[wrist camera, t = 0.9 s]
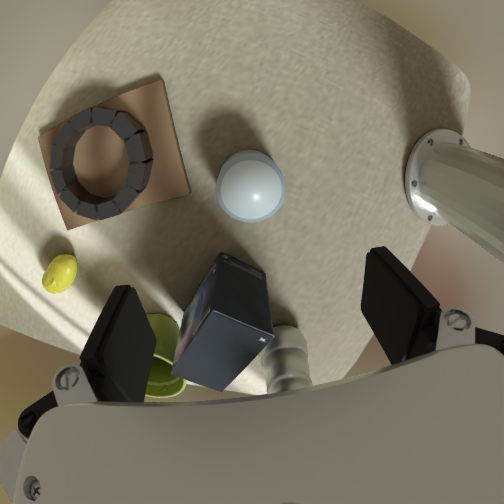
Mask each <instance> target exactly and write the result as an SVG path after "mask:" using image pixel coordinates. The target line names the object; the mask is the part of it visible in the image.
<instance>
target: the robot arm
mask: <svg viewBox="0 0 504 504" xmlns="http://www.w3.org/2000/svg"><path fill="white" fill-rule="evenodd" d="M405 188H406V195H407V198H408V202H409V204H410V206H411V208H412V210H413V211H414V213H415V214H416V215H417V216H418V217H419V218H420V219H421V220H423V221H424V222H426V223H427V224H430V225H433V226H443V225H447V224H450V225H452V226H453V227H455V228H456V229H458V230H459V231H460V232H462V233H463V234H465V235H466V236H467V237H469V238H470V239H471V240H473V241H474V242H475V243H477V244H478V245H479V246H481V247H482V248H483V249H485V250H486V251H487V252H488V253H490V254H491V255H492V256H494V257H495V258H496V259H497V260H498V261H500V262H501V263H502V264H503V265H504V159H503V158H500V157H497V156H494V155H491V154H488V153H485V152H482V151H479V150H475V149H472V148H470V146H469V144H468V143H467V141H466V140H465V139H464V138H463V137H462V136H461V135H460V134H458V133H457V132H455V131H452V130H448V129H435V130H431V131H430V132H428V133H426V134H425V135H423V136H422V137H421V138H420V139H419V140H418V142H417V143H416V145H415V146H414V148H413V150H412V152H411V154H410V156H409V160H408V163H407V167H406V173H405ZM439 306H440V304H439V302H438V301H437V300H436V299H435V298H434V297H433V295H432V294H431V293H430V292H429V291H428V290H427V289H426V288H425V287H424V286H423V285H422V284H421V282H420V281H419V280H418V279H417V278H416V277H415V276H414V275H413V274H412V273H411V272H410V271H409V270H408V269H407V268H406V267H405V266H404V265H403V264H402V263H401V262H400V261H399V260H398V259H397V258H396V257H395V256H394V255H393V254H392V253H391V252H390V251H389V250H388V249H387V248H386V247H385V246H382V247H376V248H372V249H371V250H370V252H368V253H367V255H366V265H365V275H364V284H363V292H362V300H361V311H362V313H363V315H364V317H365V319H366V320H367V322H368V324H369V325H370V327H371V329H372V330H373V332H374V334H375V336H376V337H377V339H378V341H379V343H380V344H381V346H382V348H383V350H384V351H385V353H386V355H387V357H388V359H389V361H390V363H391V364H392V365H391V366H387V367H384V368H381V369H378V370H374V371H371V372H368V373H364V374H360V375H357V376H353V377H349V378H345V379H341V380H337V381H333V382H329V383H324V384H320V385H315V386H310V387H305V388H300V389H295V390H289V391H283V392H277V393H271V394H264V395H257V396H250V397H241V398H233V399H221V400H209V401H193V402H144V398H145V393H146V388H147V383H148V379H149V374H150V369H151V365H152V360H153V356H154V352H155V348H156V336H155V334H154V332H153V329H152V327H151V325H150V323H149V321H148V318H147V316H146V314H145V312H144V309H143V307H142V304H141V302H140V300H139V297H138V295H137V292H136V290H135V289H134V288H131V286H130V285H120V286H116V287H115V288H114V289H113V291H112V293H111V295H110V297H109V299H108V301H107V302H106V304H105V306H104V308H103V310H102V312H101V314H100V316H99V318H98V320H97V322H96V324H95V326H94V328H93V330H92V332H91V334H90V336H89V338H88V340H87V343H86V345H85V347H84V349H83V351H82V353H81V356H80V359H81V363H80V365H78V364H74V363H72V364H67V365H65V366H63V367H62V368H60V369H59V370H58V371H57V372H56V374H55V375H54V377H53V381H52V387H53V391H52V392H50V393H49V394H47V395H46V396H44V397H43V398H41V399H40V400H38V401H37V402H35V403H34V404H32V405H31V406H29V407H28V408H26V409H25V410H24V411H23V412H22V413H21V415H20V417H19V420H18V428H19V430H17V429H14V430H13V431H12V433H11V434H10V435H9V436H8V437H7V438H6V440H5V441H4V442H3V443H2V444H1V445H0V483H1V485H2V486H3V488H4V490H5V491H6V493H7V494H8V496H9V498H10V499H11V501H12V502H13V504H504V335H500V334H497V333H494V332H490V331H486V330H483V329H480V328H476V327H475V322H474V319H473V317H472V315H471V314H470V313H469V312H467V311H466V310H464V309H462V308H460V307H447V308H446V309H444V310H443V311H442V310H441V309H440V308H439Z"/></svg>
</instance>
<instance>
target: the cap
mask: <svg viewBox="0 0 504 504" xmlns="http://www.w3.org/2000/svg"><path fill="white" fill-rule="evenodd" d="M285 194H286V183H285V179H284V176H283V174H282V172H281V170H280V169H279V168H278V167H277V165H276V164H275V163H274V162H273V161H272V160H271V159H270V158H269V157H268V156H267V155H266V154H264V153H262V152H260V151H256V150H242V151H238V152H236V153H234V154H232V155H231V156H230V157H228V158H227V159H226V161H225V162H224V163H223V165H222V167H221V169H220V173H219V176H218V179H217V183H216V195H217V199H218V202H219V204H220V206H221V207H222V209H223V210H224V211H225V212H226V213H227V214H228V215H229V216H231V217H232V218H234V219H236V220H239V221H243V222H259V221H262V220H265V219H267V218H269V217H270V216H272V215H273V214H274V213H275V212H277V210H278V209H279V208H280V206H281V205H282V203H283V201H284V198H285Z"/></svg>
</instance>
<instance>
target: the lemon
mask: <svg viewBox="0 0 504 504" xmlns="http://www.w3.org/2000/svg"><path fill="white" fill-rule="evenodd" d="M76 273H77V261H76V259H75V257H74V256H72V255H69V254H65V255H62V254H61V255H58V256H56V257H55V258H54V259H53V260H52V262H51V263H49V266H48V268H47V270H46V271H45V273H44V275H43V278H42V284H43V286H44V288H45V289H46V290H47V291H48V292H50V293H60V292H63V291H65V290H66V289H67V288H68V287H69V286H70V285H71V284H72V283H73V281H74V279H75V277H76Z"/></svg>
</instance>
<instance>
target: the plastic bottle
mask: <svg viewBox="0 0 504 504" xmlns="http://www.w3.org/2000/svg"><path fill="white" fill-rule="evenodd" d="M273 332H274V338H273V339H272V340H271V341H270V342H269V343H268V344H267V345H266V346H265V347H264V349H263V350H262V351H261V352H260V353H259V358H260V362H261V365H262V367H263V370H264V375H265V380H266V385H267V394H271V393H277V392H283V391H289V390H295V389H300V388H305V387H310V386H313V385H312V381H311V378H310V373H309V366H308V359H307V358H308V349H307V342H306V339H305V337H304V336H303V334H302V332H301V331H300V330H299V329H297V328H295V327H293V326H289V325H279V326H275V327H273Z"/></svg>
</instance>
